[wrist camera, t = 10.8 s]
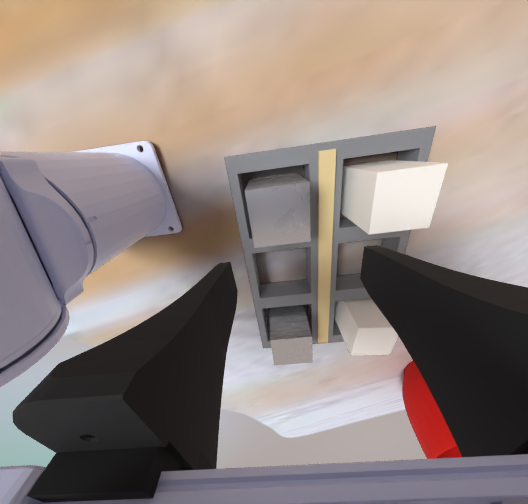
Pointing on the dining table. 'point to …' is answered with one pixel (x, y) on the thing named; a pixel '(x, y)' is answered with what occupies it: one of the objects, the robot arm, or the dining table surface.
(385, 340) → the cream rectangular block
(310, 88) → the dining table surface
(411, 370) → the ceramic cup
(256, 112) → the dining table surface
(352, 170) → the placed cream pin
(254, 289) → the peg board
